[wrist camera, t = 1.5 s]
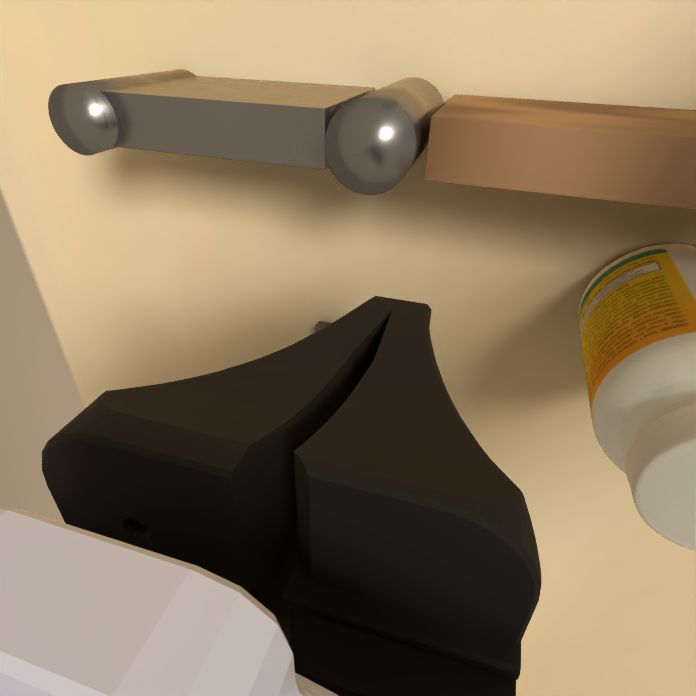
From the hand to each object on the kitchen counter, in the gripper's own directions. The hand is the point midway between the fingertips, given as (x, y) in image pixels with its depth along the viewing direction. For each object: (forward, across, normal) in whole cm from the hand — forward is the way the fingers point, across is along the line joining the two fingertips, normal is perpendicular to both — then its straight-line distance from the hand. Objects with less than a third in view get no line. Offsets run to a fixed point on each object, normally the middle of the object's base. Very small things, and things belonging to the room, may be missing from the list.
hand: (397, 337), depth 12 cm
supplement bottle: (+10, -8, +3) cm, 13 cm away
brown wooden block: (+9, -6, -3) cm, 11 cm away
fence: (+10, +6, -3) cm, 12 cm away
